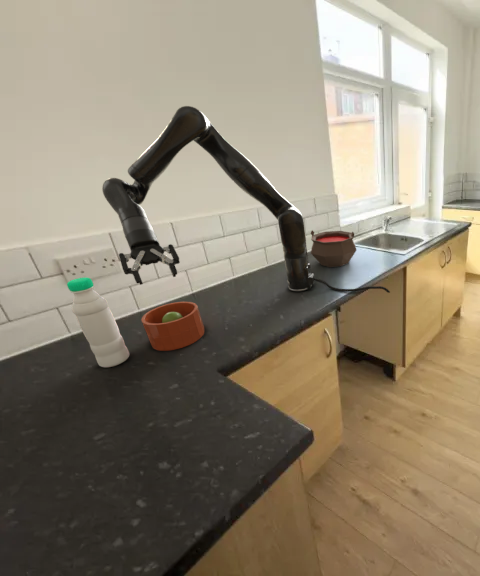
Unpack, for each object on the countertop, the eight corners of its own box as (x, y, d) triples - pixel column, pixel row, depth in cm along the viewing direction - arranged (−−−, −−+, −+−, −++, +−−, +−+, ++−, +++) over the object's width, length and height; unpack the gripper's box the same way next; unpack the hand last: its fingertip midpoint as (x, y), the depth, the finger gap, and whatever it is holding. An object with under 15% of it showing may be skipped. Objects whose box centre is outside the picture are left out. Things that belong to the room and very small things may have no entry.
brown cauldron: (364, 256, 170) (362, 225, 163) (349, 272, 149) (347, 238, 142) (322, 253, 175) (319, 224, 168) (302, 269, 154) (298, 236, 147)
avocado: (191, 330, 103) (184, 308, 100) (182, 340, 98) (174, 316, 95) (173, 331, 103) (166, 309, 100) (163, 340, 98) (155, 317, 95)
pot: (212, 324, 108) (205, 300, 104) (190, 349, 94) (182, 323, 91) (168, 326, 107) (160, 302, 104) (140, 352, 94) (129, 326, 90)
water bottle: (136, 355, 92) (102, 276, 82) (110, 370, 86) (70, 287, 76) (119, 351, 94) (85, 273, 84) (93, 365, 88) (52, 283, 78)
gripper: (108, 232, 91) (126, 280, 88) (166, 224, 100) (184, 267, 97) (114, 246, 97) (131, 291, 94) (168, 237, 106) (185, 278, 102)
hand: (158, 279), depth 95 cm, fingers open, 8 cm apart
